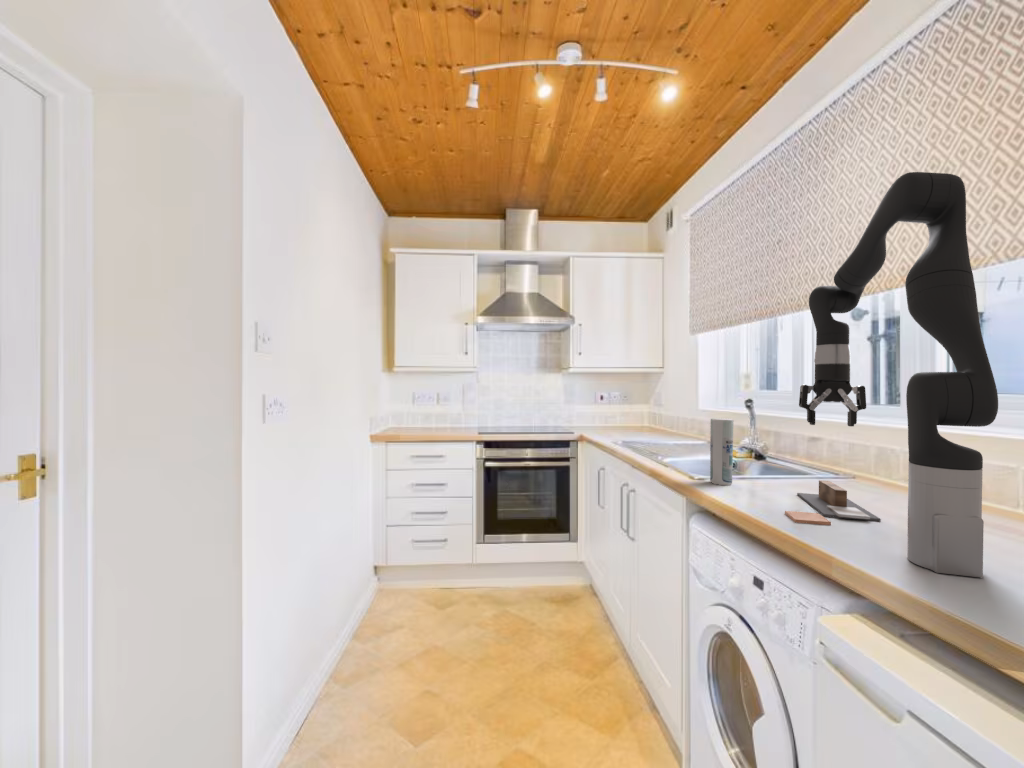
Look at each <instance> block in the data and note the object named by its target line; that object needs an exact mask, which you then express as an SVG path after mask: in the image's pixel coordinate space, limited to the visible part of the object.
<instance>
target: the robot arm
mask: <svg viewBox="0 0 1024 768" xmlns="http://www.w3.org/2000/svg"><path fill="white" fill-rule="evenodd" d="M966 193H967V191H966V187H965V183H964V181H963V179H962V178H961V177H960V176H959V175H957V174H952V173H946V172H945V173H944V172H943V173H941V172H940V173H939V172H925V171H911V172H905V173H904V174H902V175H901V176H899V177H898V178H897V179H896V180H895V181H894V182H893V183H892V184H891V186H890V187H889V188H888V190H886V192H885V194H884V196H883V198H882V199H881V201H880V203H879V205H878V207H877V208H876V210H875V212H874V213H873V215H872V217H871V219H870V221H869V222H868V224H867V227H866V228H865V230H864V232H863V234H862V236H861V238H860V239H859V241H858V243H857V244H856V246H855V247H854V249H853V250H852V252H851V253H850V254H849V256H848V257H847V258H846V259H845V261H843V263H842V264H841V266H840V267H839V268H838V270H837V271H836V272H835V274H834V276H833V283H834V285H819V286H817V287H815V288H813V290H812V291H811V292H810V293H809V297H808V307H809V311H810V313H811V316H812V321H813V324H814V327H815V332H816V340H815V341H816V342H815V353H814V361H813V362H814V383H813V385H807V384H802V385H800V388H799V389H800V390H799V399H798V407H800V408H802V409H805V410H806V421H807V423H809V425H810V426H815V425H816V410H815V409H817V407H818V406H819V405H820V404H822V403H823V402H824V403H831V402H833V403H842V405H844V406H845V407H846V408H847V410H848V411H847V422H846V423H847V424H846V425H847V426H848V427H855V425H856V424H857V422H858V421H857V418H858V412H859V411H861V410H866V409H867V396H866V395H867V393H866V387H865V386H864V385H855V386H852V385H851V349H850V326H849V324H848V323H847V322H844V321H839V320H836V319H835V318H834V317H833V316H832V314H846V313H849V312H851V311H853V310H855V308H857V306H858V304H859V302H860V299H861V298H862V297H861V296H862V295H863V293H864V290H865V288H866V286H867V285H868V284H869V283H870V282H871V281H872V279H873V278H874V277H875V276H876V275H877V274H878V273H879V272H880V270H881V269H882V267H883V266H884V264H885V261H886V258H887V246H886V244H887V243H886V241H887V235H888V233H889V231H890V230H891V228H893V226H895V225H896V224H897V223H900V222H901V223H913V224H924V225H925V226H926V227H927V229H928V245H927V246H926V248H925V250H924V251H923V252H922V254H921V255H920V256H919V258H917V260H916V261H915V262H914V264H913V265H912V266H911V268H910V269H909V271H908V273H907V275H906V278H905V293H906V294H905V295H906V302H907V303H906V304H907V308H908V309H907V310H908V312H909V315H910V316H911V317H912V319H913V320H914V321H915V322H916V323H917V324H918V325H919V326H920V327H921V328H922V329H923V330H924V331H925V332H926V333H928V334H929V336H931V337H932V338H934V339H935V340H936V341H937V342H938V343H939V344H940V345H941V346H942V347H943V349H944V350H945V351H946V352H947V354H948V356H949V357H950V359H951V361H952V363H953V364H954V368H955V369H956V371H921V372H920V371H919V372H917V373H914V374H913V375H911V376H910V378H909V380H908V382H907V386H906V397H905V398H906V402H905V403H906V413H907V414H906V416H907V444H908V475H907V476H908V480H907V481H908V482H907V534H906V535H907V555H906V556H907V560H908V561H910V562H912V563H913V564H915V565H918V566H919V567H922V568H925V569H929V570H931V571H933V572H934V573H937V574H946V575H947V574H948V575H954V576H957V575H958V576H964V577H971V578H972V577H974V578H981V579H982V578H984V577H983V576H984V522H985V521H984V519H982V518H983V516H982V515H983V514H982V513H983V509H982V508H983V468H984V467H983V463H984V462H983V461H984V459H983V454H982V453H981V452H980V451H979V450H977V449H974V448H971V447H967V446H964V445H960V444H957V443H954V442H953V441H950V440H948V439H946V438H945V437H944V436H942V435H941V434H940V433H939V430H938V426H942V427H943V426H946V427H947V426H949V427H950V426H951V427H978V428H979V427H986V426H990V425H991V424H993V422H994V421H995V420H996V418H997V414H998V413H999V411H998V410H999V394H998V389H997V385H996V382H995V380H996V379H995V376H994V374H993V370H992V367H991V364H990V360H989V359H990V358H989V356H988V353H987V350H986V345H985V342H984V338H983V335H982V334H983V333H982V329H981V322H980V318H979V309H978V300H977V291H976V285H975V278H974V274H973V269H972V266H971V260H970V253H969V245H968V236H967V194H966ZM811 391H813V392H814V394H815V396H814V398H813V399H812V400H811V401H810V403H809V404H808V396H809V394H811ZM851 392H853V394H854V395H855V398H856V400H855V401H856V404H855V403H854V402H853V400H852V399H851V398H850V396H849V394H850V393H851Z"/></svg>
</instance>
